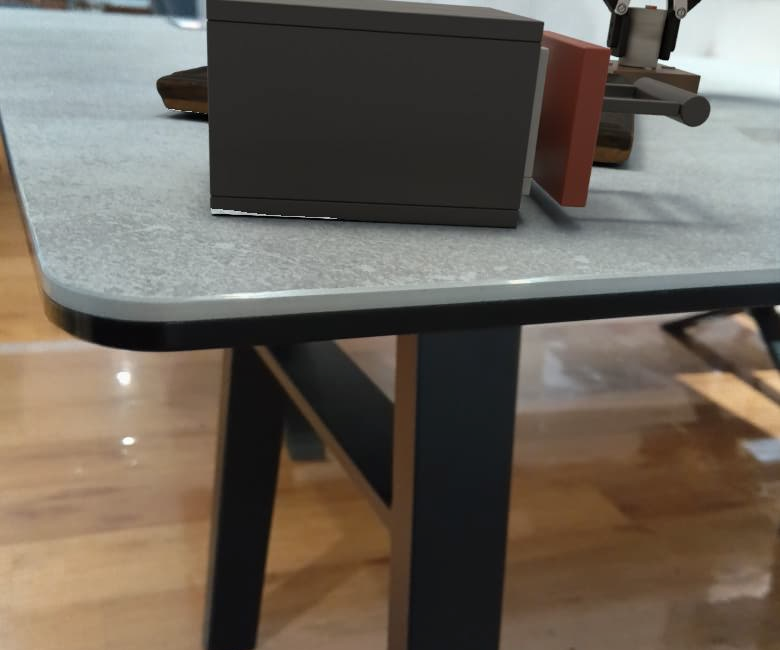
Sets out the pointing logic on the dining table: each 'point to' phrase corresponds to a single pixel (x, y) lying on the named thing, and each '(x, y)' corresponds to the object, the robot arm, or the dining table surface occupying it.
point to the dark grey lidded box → (370, 109)
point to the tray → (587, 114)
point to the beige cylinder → (644, 37)
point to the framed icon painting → (611, 143)
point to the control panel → (659, 75)
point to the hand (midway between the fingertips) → (638, 55)
